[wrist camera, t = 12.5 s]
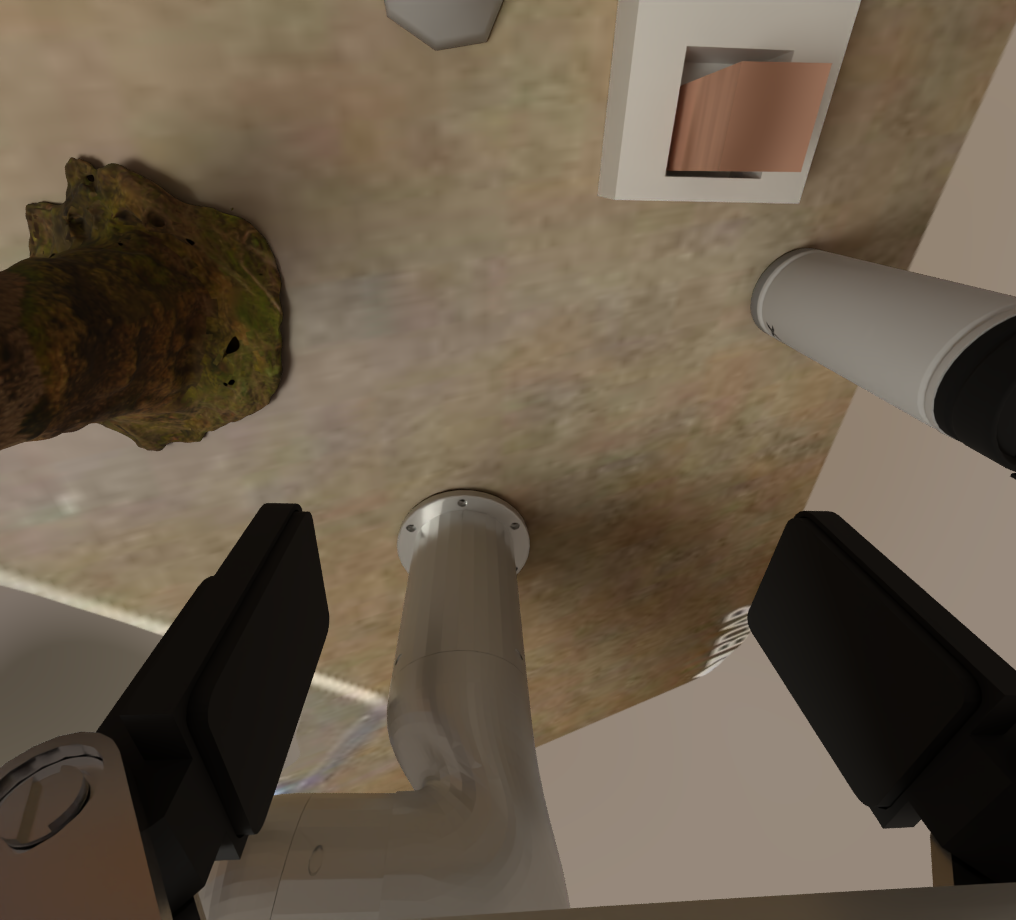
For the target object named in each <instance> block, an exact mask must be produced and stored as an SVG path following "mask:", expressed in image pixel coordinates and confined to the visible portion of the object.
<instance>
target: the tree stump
mask: <svg viewBox="0 0 1016 920" xmlns="http://www.w3.org/2000/svg"><path fill="white" fill-rule="evenodd" d="M65 174H66V178H67V182H68V187H67V191H66V201H65V203H63V204H61V205H55V204H51V203H47V202H39V203H37V204H28V205H27V206H26V219H27V222H28V227H29V231H30V239H29V250H30V257H29V258H27V259H24V260H22V261H20V262H18V263H16V264H14V265H13V266H11V267H9V268H8V269H6V270H3V271H1V272H0V450H2V449H5V448H8V447H11V446H14V445H17V444H20V443H23V442H29V441H38V440H45V439H50V438H53V437H55V436H58V435H60V434H61V433H68V432H74V431H77V430H80V429H81V428H83V427H85V426H86V425H88V424H91V423H99V424H101V425H103V426H105V427H107V428H110V429H112V430H115V431H117V432H119V433H122V434H124V435H126V436H128V437H129V438H131V439H132V440H133V441H134V442H136V444H137V446H138V447H141V448H144V449H146V450H154V451H161V450H162V449H163V448H164V447H165V446H166V445H167V444H168V443H171V442H185V443H190V442H200V441H201V440H202V438H203V437H204V434H205V433H206V432H208V431H214V430H216V429H218V428H220V427H222V426H224V425H226V424H228V423H230V422H236V421H239V420H241V419H243V418H244V417H245V416H248V415H251V414H253V413H255V412H257V411H259V410H261V409H262V408H263V407H265V406H266V405H268V404H269V402H270V397H271V396H272V395H273V394H274V393H275V391H276V390H277V388H278V386H279V383H280V378H281V375H282V364H281V350H282V337H281V332H280V324H281V322H282V319H283V313H282V308H281V303H280V299H279V294H280V289H281V278H280V275H279V272H278V270H277V266H276V261H275V258H274V256H273V254H272V252H271V250H270V248H269V245H268V243H267V241H266V240H265V238H264V237H263V236H262V235H261V234H260V233H259V232H258V231H257V230H256V229H255V228H254V227H253V226H252V225H251V224H250V223H249V222H247V221H246V220H244V219H242V218H239V217H236V216H232V215H228V214H225V213H222V212H219V211H217V210H216V209H213V208H209V207H203V206H196V205H190V204H187V203H184V202H181V201H179V200H178V199H176V198H174V197H173V196H171V195H170V194H169V193H167V192H166V191H165V190H164V189H163V188H161V187H160V186H159V185H157V184H155V183H154V182H152V181H150V180H149V179H147V178H145V177H143V176H141V175H139V174H137V173H134V172H132V171H130V170H128V169H127V168H125V167H123V166H121V165H119V164H114V163H111V164H108V165H106V166H105V167H103V168H98V170H96V169H94V168H93V166H92V165H91V164H90V163H88V162H86V161H84V160H82V159H78V160H77V159H75V158H73V157H71V158H70V159H69V161H68V163H67V164H66V166H65ZM88 175H93V176H94V182H90V181H89V180H88V179H87V176H88ZM232 210H233V208H232ZM232 210H231V211H232Z"/></svg>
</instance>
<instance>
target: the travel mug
mask: <svg viewBox="0 0 1016 920" xmlns="http://www.w3.org/2000/svg"><path fill="white" fill-rule="evenodd" d="M751 314H752V317H753V320H754V322H755V324H756V325H757V326H758V328H760V329H761V330H762V331H763V332H765V333H767V334H768V335H770V336H772V337H774V338H775V339H777V340H779V341H781V342H782V343H784V344H786V345H788V346H789V347H791V348H793V349H795V350H796V351H798V352H800V353H802V354H804V355H805V356H807V357H809V358H811V359H812V360H814V361H816V362H818V363H819V364H821V365H823V366H825V367H826V368H828V369H830V370H832V371H833V372H835V373H837V374H839V375H840V376H842V377H844V378H846V379H847V380H849V381H851V382H853V383H854V384H856V385H858V386H860V387H861V388H863V389H865V390H867V391H869V392H870V393H872V394H874V395H876V396H878V397H879V398H881V399H883V400H884V401H886V402H888V403H890V404H891V405H893V406H895V407H897V408H898V409H900V410H902V411H904V412H905V413H907V414H909V415H911V416H912V417H914V418H916V419H918V420H919V421H921V422H923V423H925V424H927V425H929V426H930V427H932V428H935V429H936V430H938V431H939V432H941V433H943V434H944V435H946V436H949V437H951V438H953V439H956V440H958V441H960V442H962V443H964V444H965V445H966V446H968V447H970V448H972V449H973V450H975V451H977V452H979V453H980V454H982V455H984V456H986V457H988V458H989V459H991V460H993V461H995V462H996V463H998V464H1000V465H1002V466H1003V467H1005V468H1008V469H1010V470H1012V471H1015V472H1016V297H1015V296H1011V295H1007V294H1002V293H998V292H994V291H990V290H986V289H981V288H977V287H973V286H969V285H964V284H960V283H956V282H952V281H948V280H943V279H939V278H935V277H931V276H927V275H923V274H918V273H914V272H910V271H906V270H902V269H897V268H893V267H889V266H885V265H881V264H876V263H872V262H868V261H864V260H860V259H856V258H851V257H847V256H843V255H839V254H835V253H830V252H826V251H822V250H818V249H813V248H802V249H798V250H794V251H791V252H789V253H787V254H785V255H783V256H781V257H780V258H778V259H777V260H776V261H774V262H773V263H772V264H771V265H770V266H769V267H768V268H767V269H766V270H765V271H764V273H763V274H762V275H761V277H760V278H759V280H758V282H757V284H756V286H755V288H754V290H753V294H752V298H751ZM1011 477H1012V478H1014V479H1016V473H1012V474H1011Z"/></svg>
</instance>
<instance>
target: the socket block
mask: <svg viewBox="0 0 1016 920" xmlns="http://www.w3.org/2000/svg"><path fill="white" fill-rule="evenodd" d="M860 2H861V0H618V8H617V17H616V26H615V36H614V45H613V55H612V64H611V74H610V83H609V92H608V102H607V111H606V121H605V130H604V140H603V149H602V158H601V168H600V177H599V187H598V196H600V197H605V198H609V199H614V200H649V201H696V202H743V203H791V204H799V202H800V199H801V195H802V192H803V189H804V185H805V182H806V179H807V176H808V172H809V169H810V166H811V163H812V159H813V156H814V153H815V149H816V146H817V143H818V140H819V136H820V133H821V130H822V127H823V123H824V120H825V117H826V113H827V110H828V107H829V104H830V100H831V97H832V94H833V90H834V87H835V84H836V81H837V77H838V74H839V71H840V68H841V64H842V61H843V58H844V54H845V51H846V48H847V45H848V41H849V38H850V35H851V32H852V28H853V25H854V22H855V18H856V15H857V12H858V9H859V5H860ZM741 61H757V62H801V63H832V65H831V69H830V72H829V76H828V79H827V83H826V86H825V90H824V93H823V97H822V100H821V104H820V107H819V111H818V114H817V118H816V121H815V125H814V128H813V132H812V135H811V139H810V142H809V145H808V149H807V152H806V156H805V159H804V163H803V166H802V170H801V172H744V171H666V167H667V161H668V155H669V149H670V143H671V137H672V131H673V126H674V120H675V114H676V108H677V102H678V96H679V90H680V86H681V85H684V84H686V83H689V82H691V81H694V80H696V79H699V78H701V77H704V76H706V75H709V74H711V73H714V72H716V71H719V70H721V69H724V68H726V67H729V66H731V65H734V64H736V63H739V62H741Z"/></svg>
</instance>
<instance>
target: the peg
mask: <svg viewBox="0 0 1016 920" xmlns="http://www.w3.org/2000/svg"><path fill="white" fill-rule="evenodd" d="M831 65H832V63H801V62H757V61H741V62H739V63H736V64H734V65H731V66H729V67H726V68H724V69H721V70H719V71H716V72H714V73H711V74H709V75H706V76H704V77H701V78H699V79H696V80H694V81H691V82H689V83H686V84H684V85H681V86H680V90H679V96H678V102H677V108H676V114H675V120H674V126H673V131H672V137H671V143H670V149H669V155H668V161H667V167H666V171H744V172H801V170H802V166H803V163H804V159H805V156H806V152H807V149H808V145H809V142H810V139H811V135H812V132H813V128H814V125H815V121H816V118H817V114H818V111H819V107H820V104H821V100H822V97H823V93H824V90H825V86H826V83H827V79H828V76H829V72H830V69H831Z"/></svg>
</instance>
